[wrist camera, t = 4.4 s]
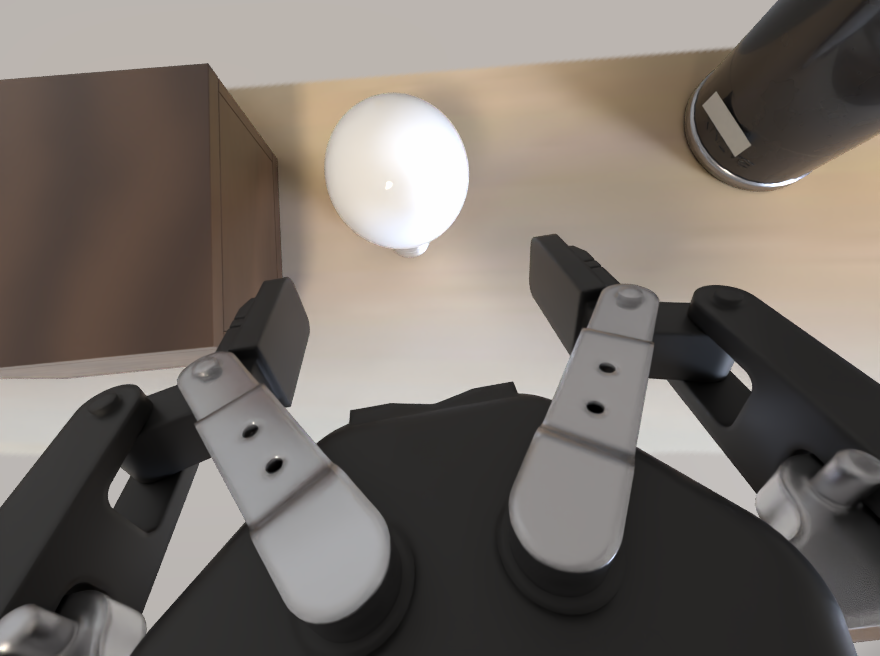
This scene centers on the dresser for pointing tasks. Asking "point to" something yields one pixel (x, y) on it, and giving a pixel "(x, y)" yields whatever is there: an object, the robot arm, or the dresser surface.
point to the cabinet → (128, 220)
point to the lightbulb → (396, 172)
